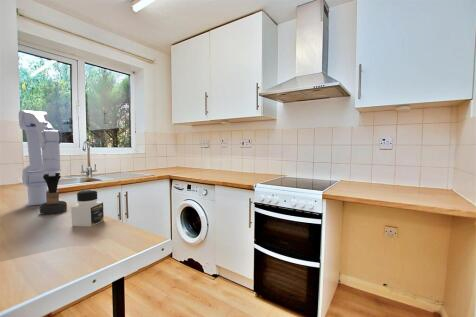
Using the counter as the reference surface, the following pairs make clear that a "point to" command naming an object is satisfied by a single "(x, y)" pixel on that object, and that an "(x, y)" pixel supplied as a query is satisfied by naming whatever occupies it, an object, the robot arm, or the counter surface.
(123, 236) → the counter surface
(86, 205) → the medicine bottle
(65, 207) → the smart speaker
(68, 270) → the counter surface
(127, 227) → the counter surface
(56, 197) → the walnut block
